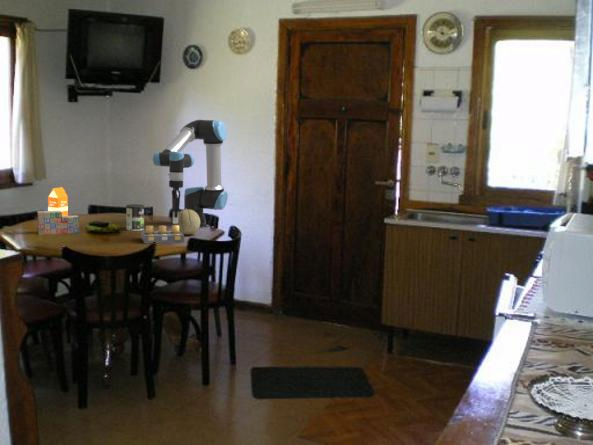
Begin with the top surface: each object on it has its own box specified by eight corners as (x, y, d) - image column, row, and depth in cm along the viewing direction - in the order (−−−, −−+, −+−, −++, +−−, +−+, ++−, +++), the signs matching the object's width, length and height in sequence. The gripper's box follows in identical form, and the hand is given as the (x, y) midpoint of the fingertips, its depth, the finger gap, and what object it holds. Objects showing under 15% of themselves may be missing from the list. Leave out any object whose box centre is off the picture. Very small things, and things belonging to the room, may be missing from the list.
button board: (179, 237, 396) (179, 230, 396) (184, 242, 383) (184, 234, 382) (141, 238, 389) (141, 230, 389) (144, 243, 376) (144, 235, 376)
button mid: (165, 234, 388) (165, 225, 388) (166, 235, 385) (166, 226, 384) (158, 234, 387) (158, 225, 386) (159, 235, 383) (159, 226, 382)
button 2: (178, 234, 391) (178, 225, 390) (179, 235, 387) (179, 226, 386) (171, 234, 389) (171, 225, 388) (172, 235, 386) (172, 226, 385)
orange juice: (48, 220, 433) (47, 188, 429) (58, 218, 441) (57, 186, 438) (58, 221, 430) (57, 189, 427) (68, 219, 438) (67, 187, 435)
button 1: (152, 234, 386) (152, 225, 385) (153, 235, 382) (153, 226, 381) (145, 234, 385) (145, 225, 384) (146, 236, 381) (146, 226, 380)
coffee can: (146, 228, 420) (147, 204, 417) (139, 231, 410) (139, 207, 408) (130, 227, 422) (130, 203, 419) (123, 230, 412) (123, 206, 410)
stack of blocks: (77, 231, 403) (77, 210, 401) (79, 233, 397) (78, 211, 395) (37, 232, 394) (37, 210, 392) (38, 234, 389) (38, 212, 387)
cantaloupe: (188, 238, 396) (189, 211, 394) (168, 234, 404) (169, 208, 401) (205, 234, 409) (206, 208, 406) (186, 231, 416) (186, 206, 414)
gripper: (167, 178, 388) (166, 221, 392) (171, 181, 376) (170, 225, 380) (180, 178, 391) (180, 221, 394) (185, 181, 378) (184, 225, 382)
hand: (175, 223), depth 387 cm, fingers closed
